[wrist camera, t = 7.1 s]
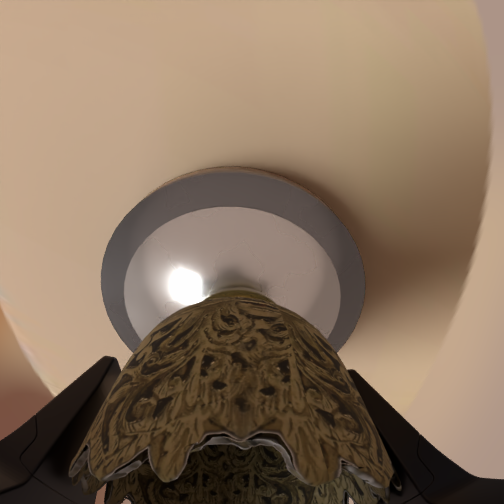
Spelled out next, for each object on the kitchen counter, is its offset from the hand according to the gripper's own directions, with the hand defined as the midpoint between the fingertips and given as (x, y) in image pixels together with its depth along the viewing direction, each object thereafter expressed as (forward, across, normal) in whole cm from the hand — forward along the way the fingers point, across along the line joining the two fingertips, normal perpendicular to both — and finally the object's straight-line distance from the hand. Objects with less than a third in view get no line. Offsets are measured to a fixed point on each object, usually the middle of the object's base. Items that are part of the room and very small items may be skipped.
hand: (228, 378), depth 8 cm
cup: (+3, 0, 0) cm, 3 cm away
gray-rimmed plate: (+4, 0, 0) cm, 5 cm away
